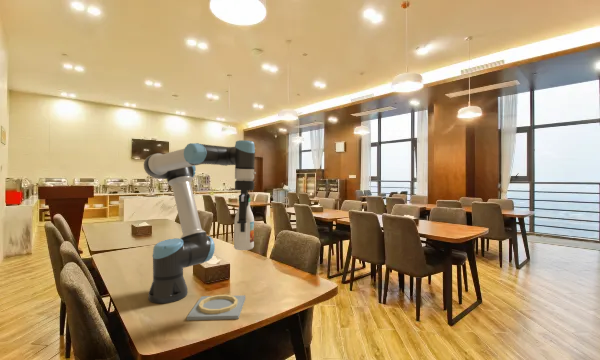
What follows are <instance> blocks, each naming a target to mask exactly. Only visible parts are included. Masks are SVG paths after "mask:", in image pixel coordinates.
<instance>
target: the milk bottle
mask: <svg viewBox="0 0 600 360" xmlns="http://www.w3.org/2000/svg"><path fill="white" fill-rule="evenodd" d="M251 200H252V199H251V197H250V198H249V200H248V206H247V214H246V223H247V233H246V240H239V223H237V221H238V220H239V207H238V209H237V211H236V213H235V215H234V216H235V217H234V226H233V228H234V229H233V233H234V234H233V248H234V249H235V250H237V251H248V250H249V251H250V250H253V248H255V247H254V246H255V242H254V241H255V218H254V214H253V211H252V209H251V202H252V201H251Z"/></svg>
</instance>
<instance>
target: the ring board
mask: <svg viewBox="0 0 600 360" xmlns="http://www.w3.org/2000/svg"><path fill="white" fill-rule="evenodd" d="M245 301H246V295H245V294H244V295H243V294H242V295H241V294H240V295H229V294H216V295H203V296H202V295H201V296H200V298H199V299H198V301H197V302H196V303H195V305H194V306H193V307H192V309H191V310H190V311H189V312H188V314H187V316H186V321H207V320H208V321H209V320H210V321H211V320H214V321H215V320H238V319H239V318H240V315H241V314H242V313H241V312H242V309H243V306H244V303H245Z"/></svg>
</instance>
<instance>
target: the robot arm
mask: <svg viewBox="0 0 600 360" xmlns="http://www.w3.org/2000/svg"><path fill="white" fill-rule="evenodd" d="M255 150H256V147H255V142H254V141H252V140H246V139H245V140H243V139H242V140H237V141H235V144H234V146H222V145H212V144H204V143H199V142H195V143H187V145H186V146H185V147H184V148H182V149H177V150H174V151H170V152H166V153H159V152H157V153H153V154H150V155H149V156H147V157H146V158H145V159H144V161H143V169H144V172H145V173H146V174H147V175H149V177H152V178H155V179H160V180H161V179H162V180H166V181H167V184H168V186H170V187H171V188H172V192H173V195H174V196H173V197H174V200H175V202H174V203H175V205H176V210H177V215H178V218H179V223H180V228H181V232H182V235H181V236H180V237H179V238H177V237H176V238H175V237H174V238H170V239H163V240H162V241H159V242H157V243H156V244H155V245H154V246H153V249H152V250H153V251H152V282H151V286H150V287H149V292H148V301H149V302H150V301H151V302H150V303H153V302H154V303H153V304H168V303H169V304H170V303H174V302H177V301H179V300H183V299H184V298H185V297H187V295H188V285H187V283H186V280H185V278H184V269H185V268H189V267H192V266H196V265H200V264H204V263H206V262H209V261H211V259H212V258H213V256H214V254H215V250H216V249H215V248H216V246H215V245H216V244H215V240H214V239H213V238H212V237H211V236H209V235H207V231H205V230H204V229H203V228H202V224H201V220H200V217H199V216H200V215H199V212H198V208H197V204H196V200H195V196H194V192H193V188H192V182H193V179H194V177H195V176H196V166H200V165H214V166H215V165H216V166H226V167H227V166H234V179H235V181H234V190H235V191H240V194H238V204H239V205H238V208H239V220H238V221H237V223H239V240H246V233H247V223H246V214H247V206H248V200H249V198H250V199H251V194H249V191H254V190H255V181H254V179H255V175H256V174H257V172H256V171H255V159H256V158H255V157H256V154H255V153H256V151H255Z"/></svg>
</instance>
